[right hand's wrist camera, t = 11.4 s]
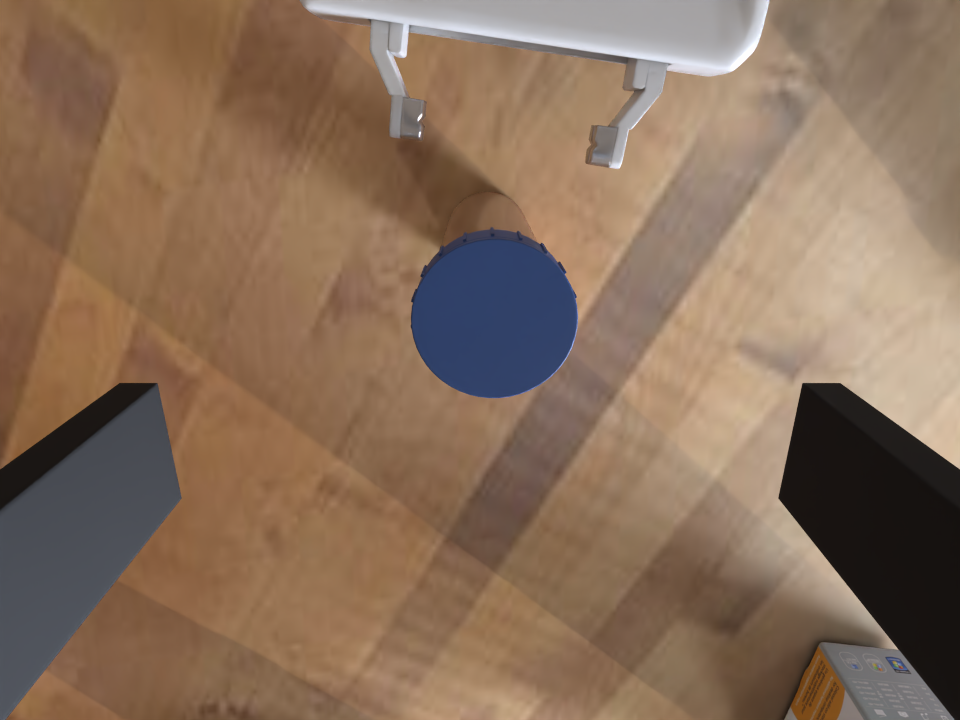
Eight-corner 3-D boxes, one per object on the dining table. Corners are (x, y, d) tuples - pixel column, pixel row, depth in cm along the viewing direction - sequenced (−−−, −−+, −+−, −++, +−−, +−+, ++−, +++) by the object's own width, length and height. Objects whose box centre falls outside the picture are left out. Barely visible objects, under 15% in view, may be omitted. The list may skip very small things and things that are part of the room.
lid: (580, 231, 21) (590, 241, 19) (563, 382, 23) (570, 404, 21) (416, 222, 21) (410, 231, 19) (413, 374, 23) (408, 396, 21)
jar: (530, 193, 36) (574, 250, 20) (523, 274, 38) (558, 388, 21) (448, 189, 36) (423, 242, 19) (445, 269, 37) (420, 381, 21)
